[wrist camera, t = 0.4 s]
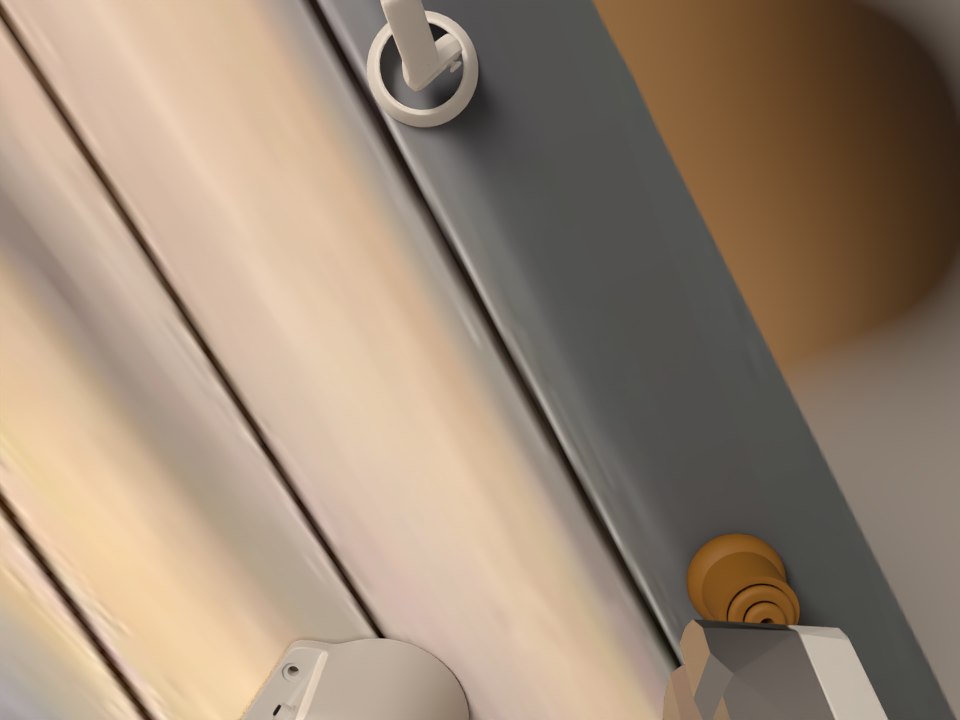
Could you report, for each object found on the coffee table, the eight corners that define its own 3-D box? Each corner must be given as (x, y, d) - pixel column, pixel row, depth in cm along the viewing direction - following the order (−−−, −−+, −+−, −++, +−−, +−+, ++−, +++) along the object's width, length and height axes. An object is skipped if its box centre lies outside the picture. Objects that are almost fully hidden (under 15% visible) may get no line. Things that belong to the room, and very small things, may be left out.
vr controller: (391, -106, 51) (464, -58, 48) (443, 38, 62) (505, 85, 59) (297, -30, 50) (365, 24, 47) (366, 103, 61) (425, 154, 58)
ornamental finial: (686, 623, 66) (679, 534, 65) (780, 612, 66) (776, 523, 65) (716, 680, 58) (709, 580, 57) (823, 668, 58) (819, 568, 57)
